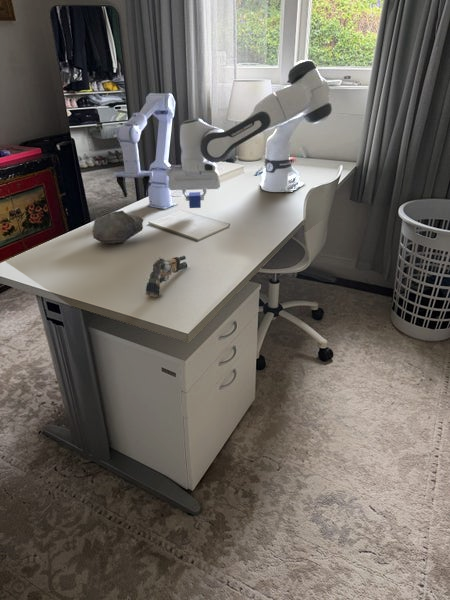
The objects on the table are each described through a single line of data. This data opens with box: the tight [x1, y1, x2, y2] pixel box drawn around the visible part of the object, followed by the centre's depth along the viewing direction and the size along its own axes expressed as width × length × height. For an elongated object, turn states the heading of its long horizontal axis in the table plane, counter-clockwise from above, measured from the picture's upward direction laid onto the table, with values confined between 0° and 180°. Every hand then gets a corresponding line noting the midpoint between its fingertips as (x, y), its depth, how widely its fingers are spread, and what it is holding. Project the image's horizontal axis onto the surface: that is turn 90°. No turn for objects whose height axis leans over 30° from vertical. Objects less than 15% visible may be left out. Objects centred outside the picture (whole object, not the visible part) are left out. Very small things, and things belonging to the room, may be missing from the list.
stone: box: [91, 210, 144, 244], centre depth 146 cm, size 18×10×15 cm
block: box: [188, 191, 202, 209], centre depth 168 cm, size 4×5×5 cm
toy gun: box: [145, 255, 188, 298], centre depth 120 cm, size 3×21×10 cm, turn 158°
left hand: (135, 196), depth 164 cm, fingers open, 7 cm apart
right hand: (195, 200), depth 168 cm, fingers closed on block, 4 cm apart
